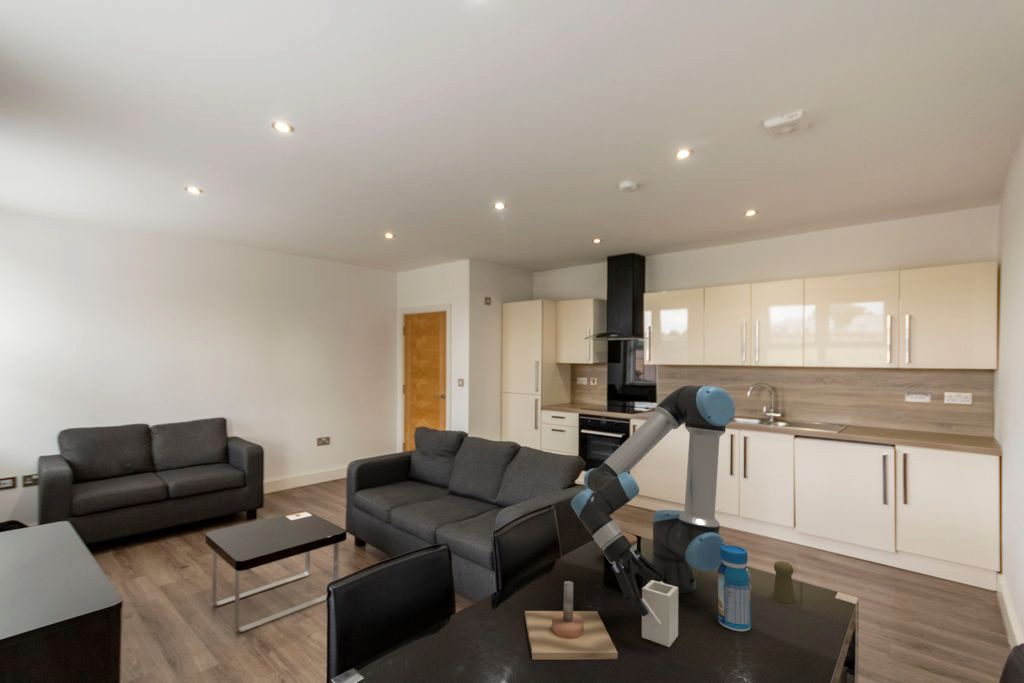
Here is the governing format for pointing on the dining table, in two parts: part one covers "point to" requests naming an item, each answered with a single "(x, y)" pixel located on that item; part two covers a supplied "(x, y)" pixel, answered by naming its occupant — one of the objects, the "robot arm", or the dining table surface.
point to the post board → (568, 646)
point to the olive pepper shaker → (783, 583)
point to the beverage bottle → (734, 589)
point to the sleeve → (661, 612)
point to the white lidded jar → (632, 540)
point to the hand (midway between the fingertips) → (666, 616)
